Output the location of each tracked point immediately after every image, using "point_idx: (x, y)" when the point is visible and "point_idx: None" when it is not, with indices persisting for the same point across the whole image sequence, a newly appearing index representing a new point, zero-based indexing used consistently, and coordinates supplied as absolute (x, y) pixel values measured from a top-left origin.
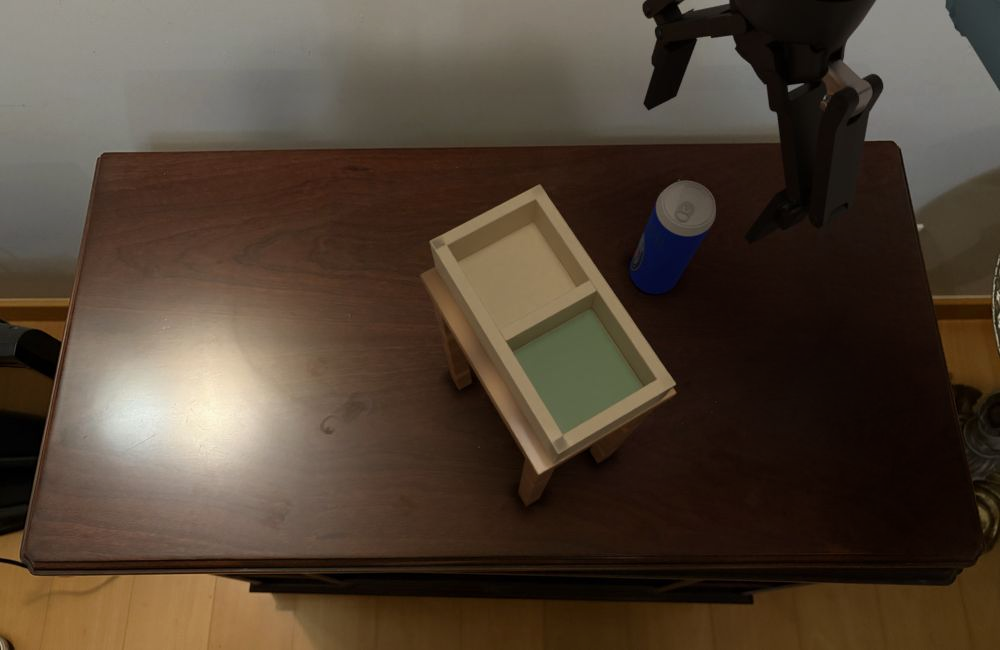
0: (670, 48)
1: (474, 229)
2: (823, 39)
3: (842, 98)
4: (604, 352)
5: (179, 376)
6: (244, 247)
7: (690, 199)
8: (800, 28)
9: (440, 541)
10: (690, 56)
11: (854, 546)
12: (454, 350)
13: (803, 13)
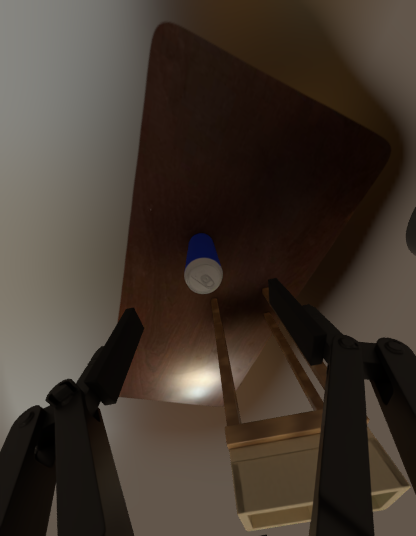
0: (106, 399)
1: (250, 525)
2: None
3: None
4: None
5: (189, 384)
6: (149, 369)
7: (200, 274)
8: None
9: (266, 338)
10: (110, 354)
11: (353, 208)
12: (231, 371)
13: None
